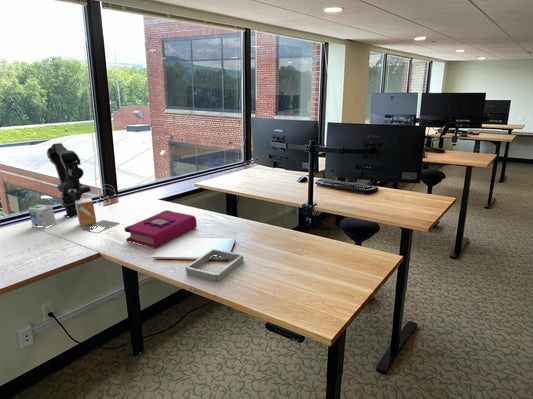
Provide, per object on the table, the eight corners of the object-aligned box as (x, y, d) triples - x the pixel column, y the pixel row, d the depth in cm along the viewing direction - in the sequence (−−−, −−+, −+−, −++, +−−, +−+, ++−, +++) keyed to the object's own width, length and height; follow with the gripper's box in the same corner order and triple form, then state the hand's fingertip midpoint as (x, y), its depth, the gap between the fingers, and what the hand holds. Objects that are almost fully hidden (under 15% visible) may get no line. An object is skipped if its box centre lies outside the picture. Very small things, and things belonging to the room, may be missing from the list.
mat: (80, 229, 202) (80, 228, 202) (103, 220, 213) (103, 219, 213) (97, 233, 196) (97, 232, 196) (119, 223, 207) (119, 223, 207)
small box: (80, 226, 205) (76, 204, 200) (78, 222, 210) (74, 200, 205) (97, 223, 209) (92, 200, 204) (94, 219, 214) (90, 197, 209)
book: (197, 228, 197) (195, 214, 194) (156, 250, 174) (153, 234, 172) (167, 222, 207) (165, 209, 205) (125, 241, 185) (122, 227, 182)
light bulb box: (32, 226, 209) (27, 208, 206) (43, 222, 215) (38, 204, 212) (46, 228, 205) (41, 209, 202) (57, 224, 211) (52, 205, 208)
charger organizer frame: (185, 274, 150) (184, 267, 149) (213, 254, 166) (212, 248, 165) (218, 282, 143) (217, 275, 142) (244, 261, 158) (243, 254, 158)
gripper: (47, 177, 201) (53, 205, 205) (69, 180, 192) (75, 210, 197) (66, 172, 210) (72, 200, 215) (89, 175, 201) (94, 204, 206)
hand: (77, 203), depth 208 cm, fingers closed
